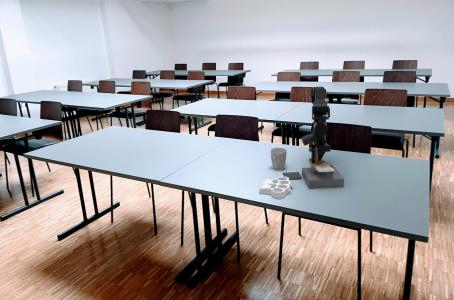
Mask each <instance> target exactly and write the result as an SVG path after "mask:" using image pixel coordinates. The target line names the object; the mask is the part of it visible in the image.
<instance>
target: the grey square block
mask: <svg viewBox="0 0 454 300" xmlns="http://www.w3.org/2000/svg"><path fill="white" fill-rule="evenodd" d="M329 166H330V167H332V168H333V169H334V171H331V172H318V171H317V170H315V167H314V166H313V165H311V164H310V166H309V167H308V166H307V167H301V178H302V179H303V180H304V183H305V184H306V186H307V188H308V189H309V190H310V189H325V188H327V189H328V188H344V187H345V186H344V184H345V178H344V176H342V174H341V173H340V172H339V170H338V169H337V168H336V167H335V166H334V165H333V164H332V163H329Z"/></svg>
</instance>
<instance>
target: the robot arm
mask: <svg viewBox="0 0 454 300" xmlns="http://www.w3.org/2000/svg"><path fill="white" fill-rule="evenodd" d="M326 98H327V89H326V88H325V87H324V86H314V87H313V88H312V89H310V90H309V99H310V102H311V104H312V105H311V120H312V121H313V130H311V133H310V134H305V135H304V136H302V137H300V139H301V142H302V144H303V146H305V147H306V146H308V152H309V153H310V152H311V153H310V154H311V158H309V159H308V160H309V161H310V162H311V164H316V163H315V158H316V151H317V156H318V161H321V159H322V163H325V162H324V160H323V157H324V155H325V154H326V153H330V152H331V149H332V148H331V146H330V145H329V144H328V143H327V139H326V135H327V134H328V125H327V120H330V118H331V108H330V106H329V105H328V102H327V100H325V99H326Z"/></svg>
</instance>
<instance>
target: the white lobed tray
mask: <svg viewBox="0 0 454 300" xmlns="http://www.w3.org/2000/svg"><path fill="white" fill-rule="evenodd" d="M293 187H294V185H293V184H292V183H291V181H290V180H289V178H288V177H284V176H278V177H276V178H266V179H264V180H263V182H262V184H261V187H260V188H259V190H258V191H259V194H261V195H270V196H271V197H272V198H274V199H278V200H279V199H284V198H285V197H286V195H289V194H290V193H291V192H293V190H292V188H293Z"/></svg>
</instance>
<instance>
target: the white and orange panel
mask: <svg viewBox="0 0 454 300" xmlns="http://www.w3.org/2000/svg"><path fill="white" fill-rule="evenodd" d="M311 165H313V166H314V167H315V170H317V171H318V172H331V171H334V169H333V168H332V167H330V164H327V163H325V162H324V163H321V164H316V163H311V164H310V166H311Z"/></svg>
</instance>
